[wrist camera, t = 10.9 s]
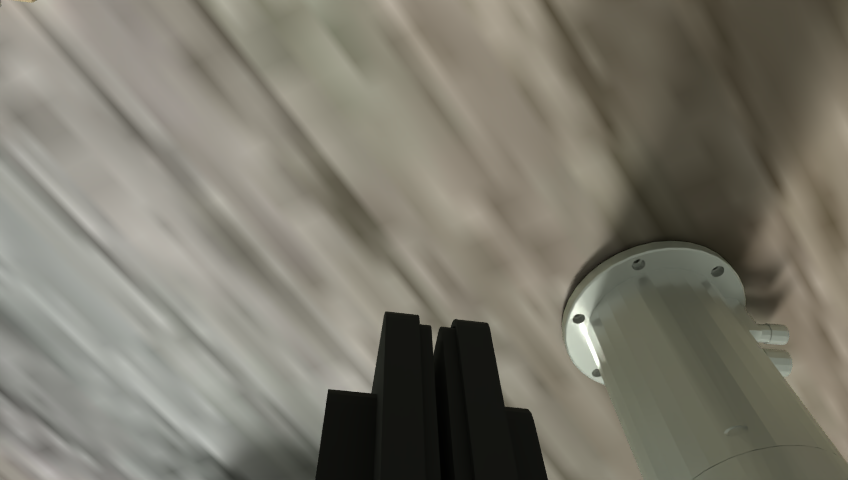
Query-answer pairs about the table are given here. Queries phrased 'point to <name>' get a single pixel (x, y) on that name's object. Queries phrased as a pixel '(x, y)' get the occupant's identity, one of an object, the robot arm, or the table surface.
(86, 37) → the table surface
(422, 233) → the table surface
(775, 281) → the table surface
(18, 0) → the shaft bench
